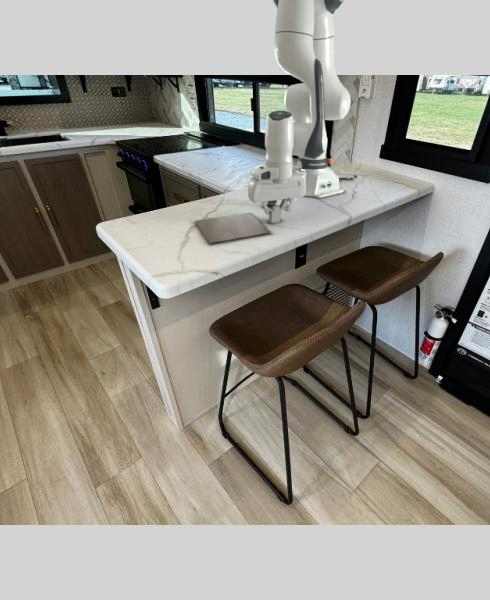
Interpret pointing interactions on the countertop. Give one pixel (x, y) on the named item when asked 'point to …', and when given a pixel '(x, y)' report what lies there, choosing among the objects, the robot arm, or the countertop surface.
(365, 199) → the countertop surface
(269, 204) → the tarnished pewter finial
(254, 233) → the walnut board
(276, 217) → the lighter
